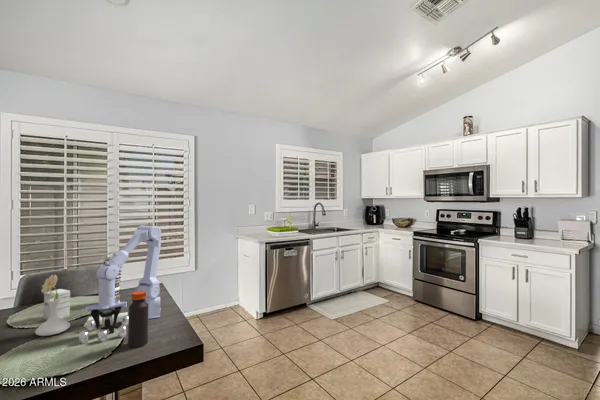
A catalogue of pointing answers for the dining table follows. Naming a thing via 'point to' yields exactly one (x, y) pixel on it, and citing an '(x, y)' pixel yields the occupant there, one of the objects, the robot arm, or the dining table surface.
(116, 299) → the decorative candle
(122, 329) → the spacer posts
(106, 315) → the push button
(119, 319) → the sage mat
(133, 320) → the bottle
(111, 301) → the robot arm
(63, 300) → the supplement box
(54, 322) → the flower in vase
